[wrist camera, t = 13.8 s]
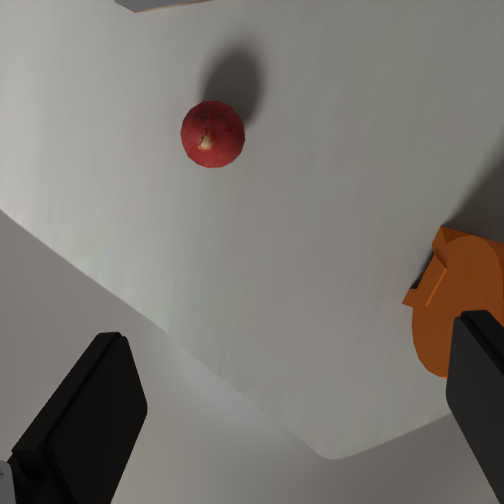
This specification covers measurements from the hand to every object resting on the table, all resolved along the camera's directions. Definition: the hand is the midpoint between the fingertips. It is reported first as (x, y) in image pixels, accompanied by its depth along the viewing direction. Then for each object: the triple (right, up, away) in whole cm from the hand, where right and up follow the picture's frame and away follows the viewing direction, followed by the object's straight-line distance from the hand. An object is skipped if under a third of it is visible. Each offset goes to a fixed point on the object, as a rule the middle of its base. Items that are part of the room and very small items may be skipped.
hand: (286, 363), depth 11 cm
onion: (-4, +15, +27) cm, 31 cm away
